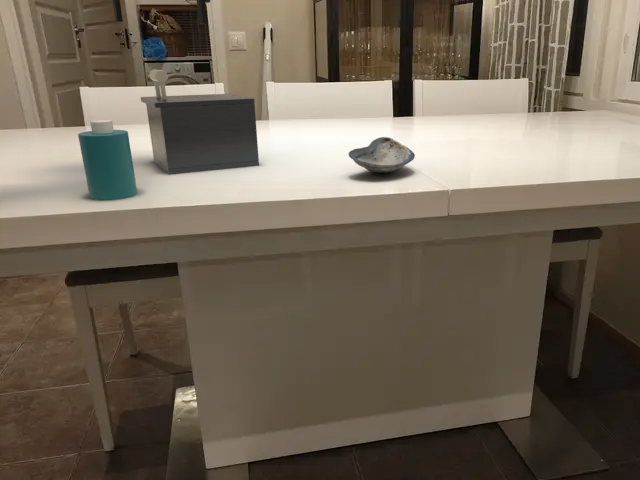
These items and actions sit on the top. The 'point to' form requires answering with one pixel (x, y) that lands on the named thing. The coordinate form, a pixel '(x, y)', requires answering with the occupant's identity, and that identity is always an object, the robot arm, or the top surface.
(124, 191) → the detergent bottle
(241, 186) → the top surface
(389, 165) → the seashell
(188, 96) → the box lid
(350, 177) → the top surface
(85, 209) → the top surface
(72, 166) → the top surface
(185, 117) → the black box
